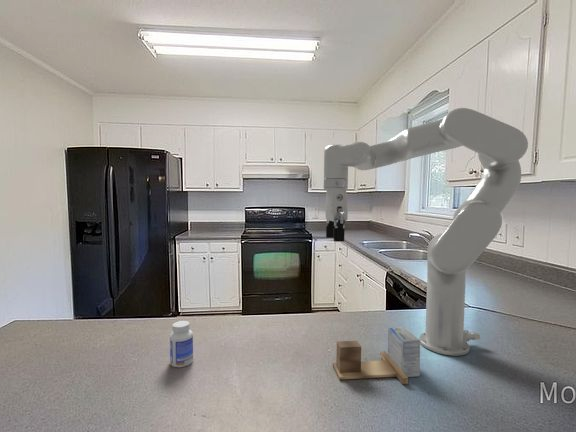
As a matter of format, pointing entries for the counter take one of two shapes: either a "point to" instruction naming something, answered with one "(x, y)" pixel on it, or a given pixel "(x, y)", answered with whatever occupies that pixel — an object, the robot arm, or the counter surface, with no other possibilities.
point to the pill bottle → (181, 344)
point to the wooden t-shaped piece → (364, 364)
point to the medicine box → (404, 350)
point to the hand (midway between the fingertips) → (334, 239)
